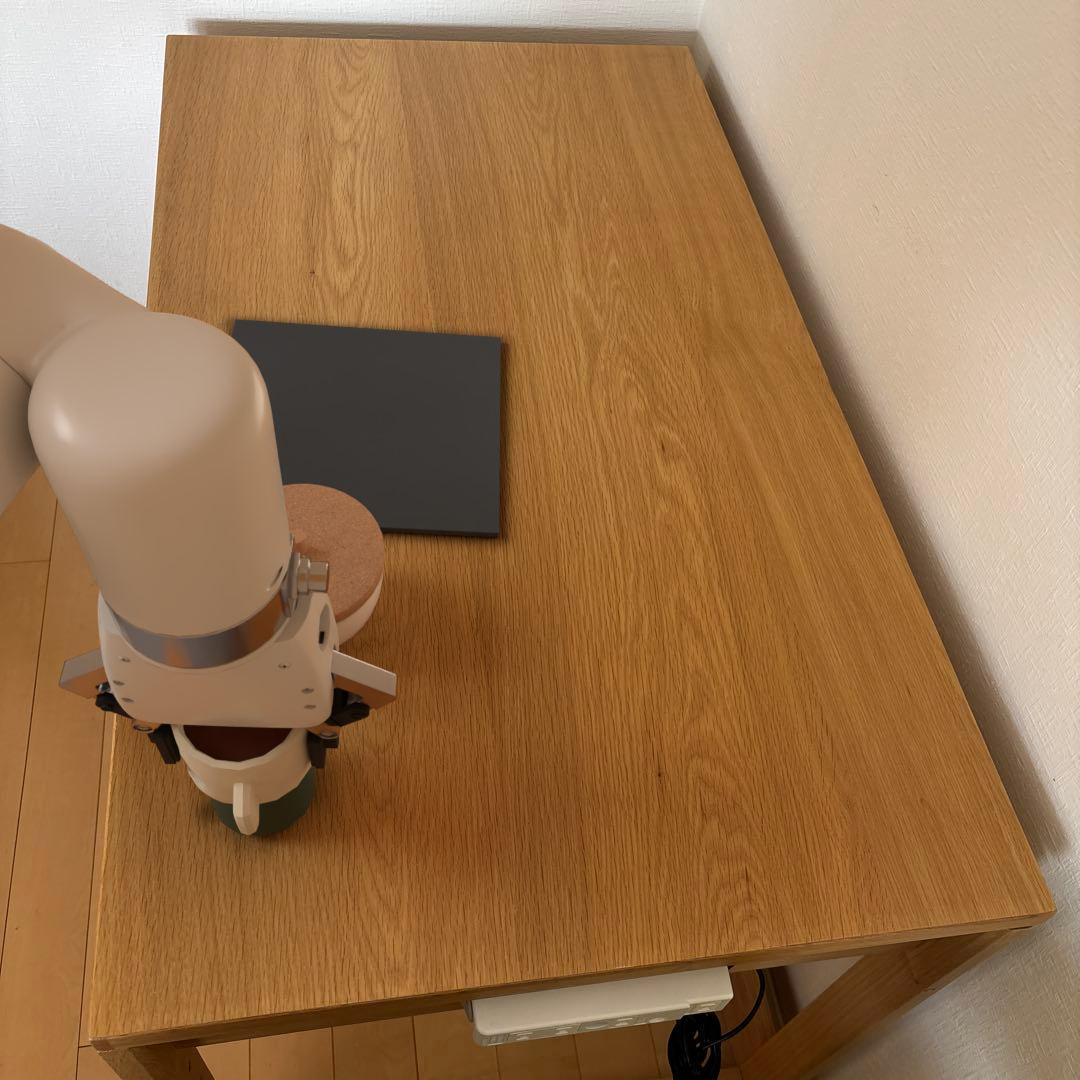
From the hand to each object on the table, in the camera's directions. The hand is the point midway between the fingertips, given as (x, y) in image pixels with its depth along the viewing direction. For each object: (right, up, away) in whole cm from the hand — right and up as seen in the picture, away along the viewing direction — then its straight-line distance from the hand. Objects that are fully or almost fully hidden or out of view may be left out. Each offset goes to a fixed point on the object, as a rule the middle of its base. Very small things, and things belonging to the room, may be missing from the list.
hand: (249, 739), depth 57 cm
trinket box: (0, +6, +14) cm, 16 cm away
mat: (+2, +20, +24) cm, 31 cm away
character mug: (-1, -5, +7) cm, 8 cm away
